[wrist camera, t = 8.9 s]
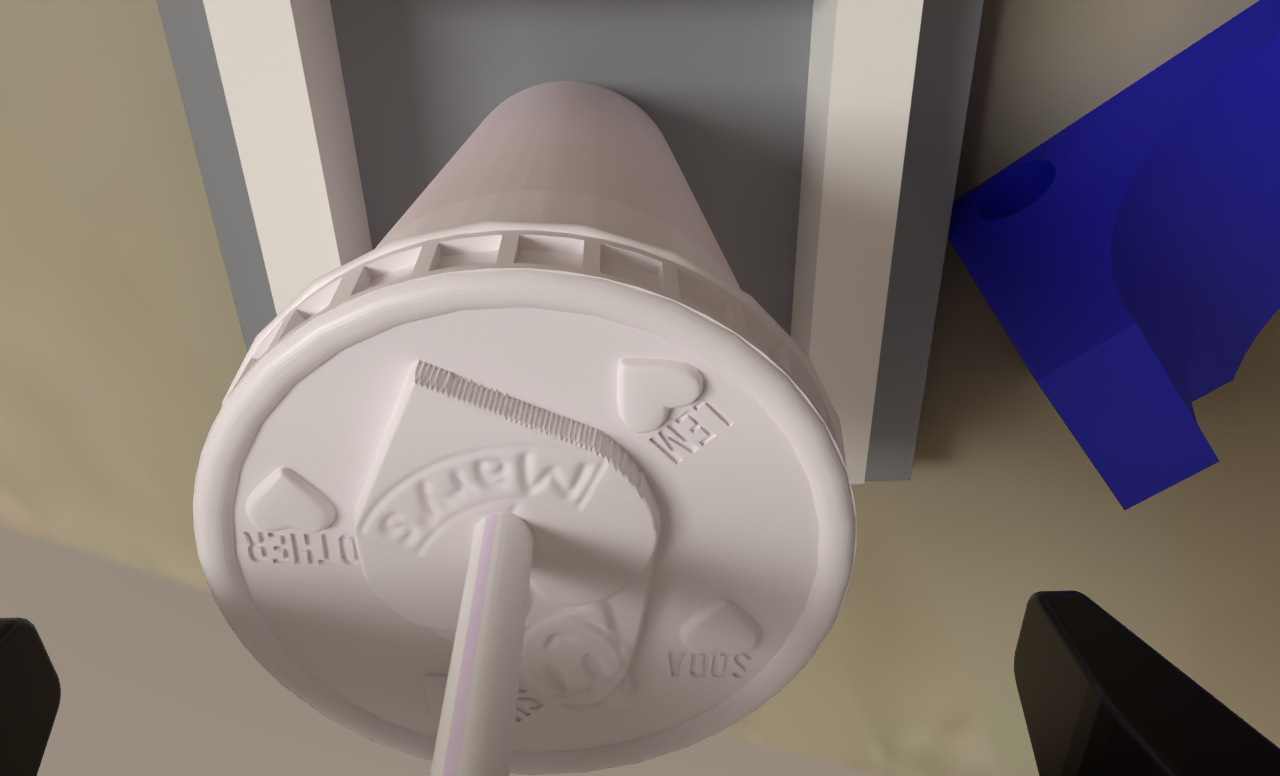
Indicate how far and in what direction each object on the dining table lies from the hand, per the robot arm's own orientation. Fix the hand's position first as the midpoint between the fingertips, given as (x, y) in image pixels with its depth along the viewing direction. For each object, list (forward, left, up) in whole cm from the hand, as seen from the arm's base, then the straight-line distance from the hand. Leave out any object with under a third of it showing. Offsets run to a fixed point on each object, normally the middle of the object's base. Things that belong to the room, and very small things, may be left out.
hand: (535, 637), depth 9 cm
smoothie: (0, 0, -11) cm, 11 cm away
